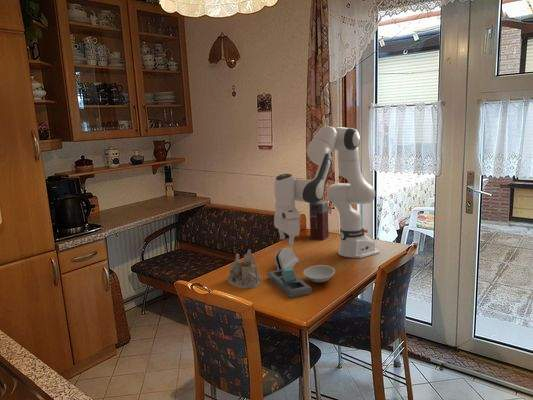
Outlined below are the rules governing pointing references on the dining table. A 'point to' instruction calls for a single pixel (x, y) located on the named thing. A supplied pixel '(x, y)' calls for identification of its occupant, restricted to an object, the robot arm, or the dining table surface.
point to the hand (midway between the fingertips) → (286, 241)
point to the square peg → (288, 274)
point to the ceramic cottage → (244, 272)
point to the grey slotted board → (290, 285)
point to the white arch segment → (285, 258)
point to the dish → (319, 273)
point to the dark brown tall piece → (319, 220)
